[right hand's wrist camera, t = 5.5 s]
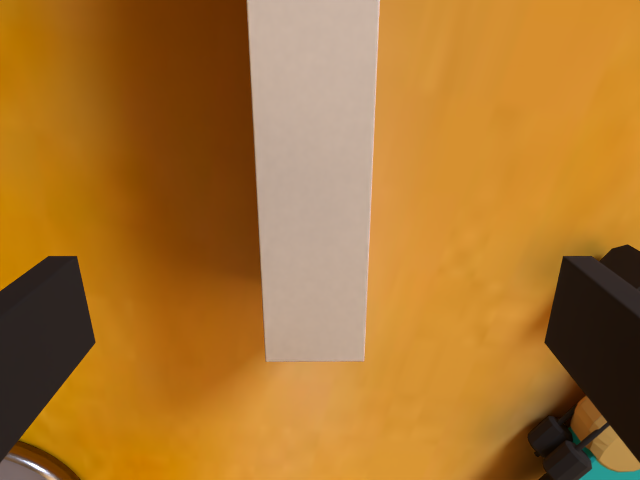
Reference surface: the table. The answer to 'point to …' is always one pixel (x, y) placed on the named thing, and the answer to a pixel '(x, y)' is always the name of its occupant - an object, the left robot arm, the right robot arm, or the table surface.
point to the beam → (313, 171)
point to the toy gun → (589, 419)
